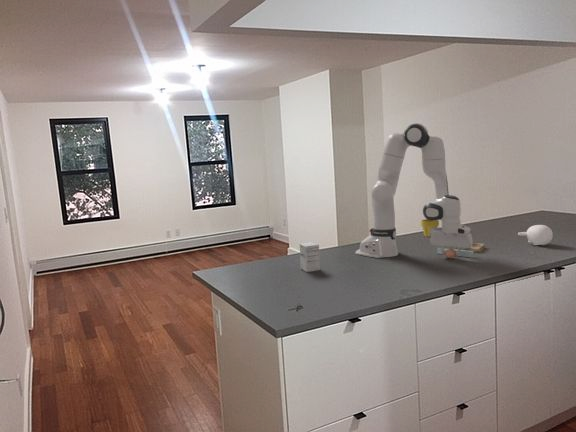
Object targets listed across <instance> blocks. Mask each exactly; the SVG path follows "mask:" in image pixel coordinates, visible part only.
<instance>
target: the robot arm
mask: <svg viewBox="0 0 576 432" xmlns="http://www.w3.org/2000/svg"><path fill="white" fill-rule="evenodd" d="M410 146H411V147H416V148H419V149H420V150H421V159H422V160H421V166H422V171H423V173H424V174H425V176H427V177H428V178H430V179H431V180H432V181H433V182H434V188H435V189H434V190H435V200H434V201H430V202H427V203H426V204H424V206H423V208H422V214H423V216H424V219H427V220H430V221H435V220H440V221H441V227H439V226H438V227H433V228H431V230H430V234H431V237H429V238H430V239H429V244H430V245H431V246H438V247H439V248H440V249H441V250H442V254H441V255H442V256H446V254H445V253H446V251H445V250H444V249H445V247H449V248H455V249H456V248H458V252H456V253H455V257H460V256H459V252H460V251H461V249H462V248H467V249H470V248H471V247H472V245H473V243H474V241H473V236H472V233H470V232H471V227H468V226H466V225H464V224H461V223H462V222H461V214H462V210H461V202H460V201H461V200H460V198H459V197H457V196H456V195H450V194H449V183H448V176H447V169H446V150H445V144H444V140H443V139H442V138H441V137H438V136H430V135H429V132H428V129H427V127H426V126H424V125H423V124H421V123H412V124H410V125H408V126H407V127H406V128H405V129H404V132H402V133H397V132H395V133H391V134H390V135H389V136H388V138H387V140H386V142H385V144H384V147H383V149H382V150H383V151H382V154H381V158H380V162H379V166H378V172H377V176H376V177H377V178H376V182H375V184H374V185H373V187H372V188H371V205H372V207H371V208H372V216H373V217H372V218H373V220H372V221H373V227H372V228H370V229H369V230H368V233H370V235H368V236H367V237H365V238H364V239H362V241H361V242H360V245H359V249H357V250H356V251H355V255H358V256H365V257H370V258H376V259H380V258H391V257H392V258H393V257H396V256H398V255H399V251H398V248H397V244H396V243H397V240H396V238H397V230H396V222H395V221H396V217H395V215H396V212H395V201H394V196H395V195H396V192H397V187H398V183H399V179H400V176H401V175H400V174H401V171H402V166H403V164H404V160H405V155H406V152H407V149H408V148H409V147H410Z"/></svg>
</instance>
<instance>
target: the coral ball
mask: <svg viewBox="0 0 576 432" xmlns="http://www.w3.org/2000/svg"><path fill="white" fill-rule="evenodd" d="M447 249H448V250H447V251H446V253H445V254H446V255H445V256H446V258H448V259H451V260H453V259H454V258H455V257H456V256H455V253H456V252H455V250H456V249H454V250H453V248H447Z"/></svg>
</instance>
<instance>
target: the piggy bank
mask: <svg viewBox="0 0 576 432" xmlns="http://www.w3.org/2000/svg"><path fill="white" fill-rule="evenodd" d="M517 235H518V236H521V237H522V236H525V237H526V238H527V240H528V241H527V243H531V244H533V246H534V245H542V246H545V245H548V244H550V243H551V241H552V239H553V235H554V234H553V231H552V229H551V228H550V227H549V226H547V225H545V224H536V225H535V224H534V225H532V226H530V227H528V229H526V231H522V232H518V233H517Z"/></svg>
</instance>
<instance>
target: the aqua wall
mask: <svg viewBox="0 0 576 432" xmlns="http://www.w3.org/2000/svg"><path fill="white" fill-rule="evenodd" d="M448 249H449V248H444V250H445V251H447V250H448ZM452 249H453V248H452ZM453 250H455V252H458V250H456V249H453ZM474 253H475V252H474V251H465V250H461V251H460V252H459V256H458V257H462V258H463V257H464V258H472V259H473V258H474ZM436 254H437V255H442V250H441V249H440V247H437V249H436Z"/></svg>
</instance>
